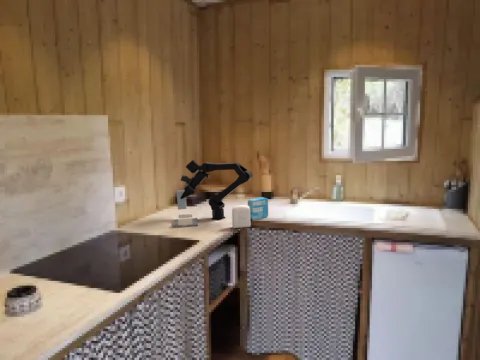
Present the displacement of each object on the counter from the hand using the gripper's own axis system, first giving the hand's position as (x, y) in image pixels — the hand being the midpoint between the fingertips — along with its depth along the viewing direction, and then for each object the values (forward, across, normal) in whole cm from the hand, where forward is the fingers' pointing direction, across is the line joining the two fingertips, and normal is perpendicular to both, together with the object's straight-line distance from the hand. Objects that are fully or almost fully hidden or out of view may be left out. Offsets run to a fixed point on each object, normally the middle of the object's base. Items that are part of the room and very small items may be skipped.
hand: (180, 197), depth 234 cm
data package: (-22, +9, +42) cm, 49 cm away
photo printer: (-14, +25, +34) cm, 45 cm away
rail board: (+8, +11, +11) cm, 17 cm away
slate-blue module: (+4, 0, +5) cm, 7 cm away
